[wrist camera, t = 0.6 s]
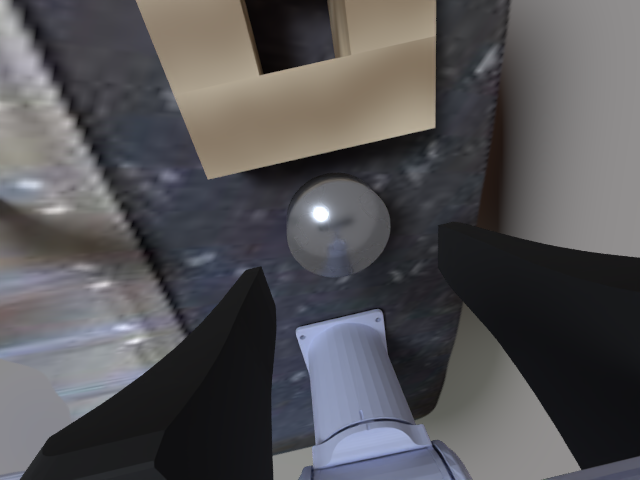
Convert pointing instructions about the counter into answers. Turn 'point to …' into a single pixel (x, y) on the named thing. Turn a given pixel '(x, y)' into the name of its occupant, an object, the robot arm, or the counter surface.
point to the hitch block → (295, 80)
